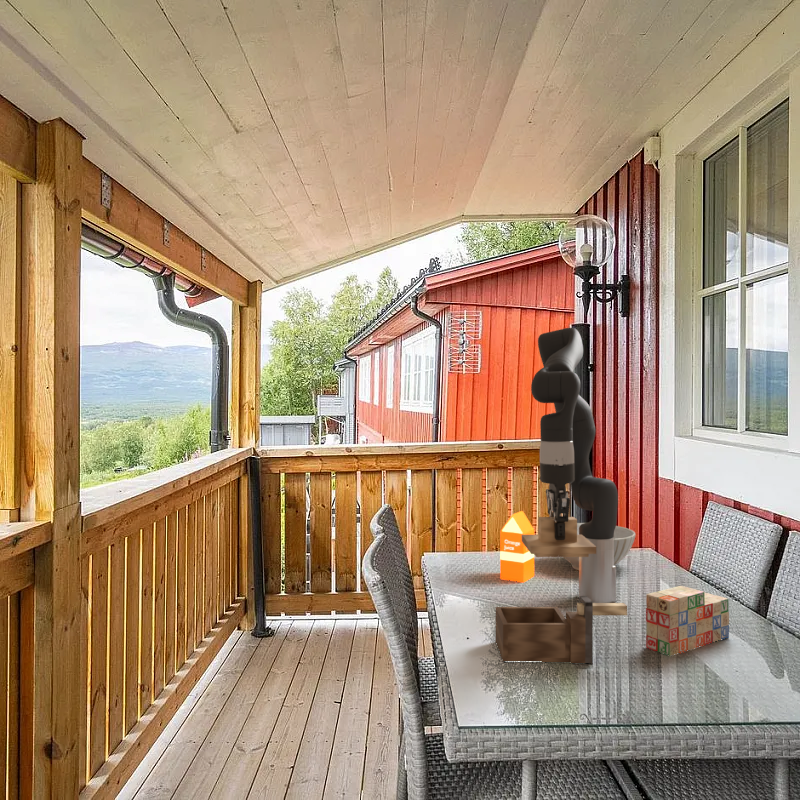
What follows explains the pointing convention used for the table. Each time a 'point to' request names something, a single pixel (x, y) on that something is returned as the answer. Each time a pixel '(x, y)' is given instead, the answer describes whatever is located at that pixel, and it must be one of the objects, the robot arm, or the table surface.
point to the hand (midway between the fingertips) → (558, 537)
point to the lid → (551, 547)
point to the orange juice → (516, 549)
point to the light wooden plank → (605, 609)
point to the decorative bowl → (621, 545)
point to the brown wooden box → (545, 634)
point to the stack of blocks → (684, 619)
